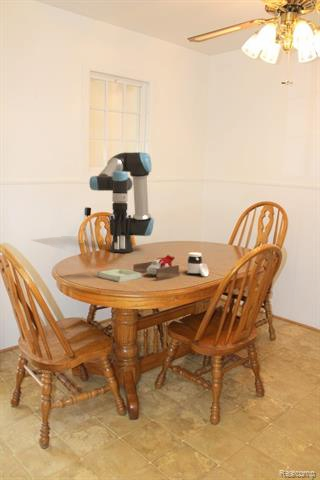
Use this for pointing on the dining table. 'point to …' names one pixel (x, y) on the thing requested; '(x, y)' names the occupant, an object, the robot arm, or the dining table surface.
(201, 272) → the spread jar
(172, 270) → the walnut holder
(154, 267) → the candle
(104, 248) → the dining table surface
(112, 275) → the sage tray
